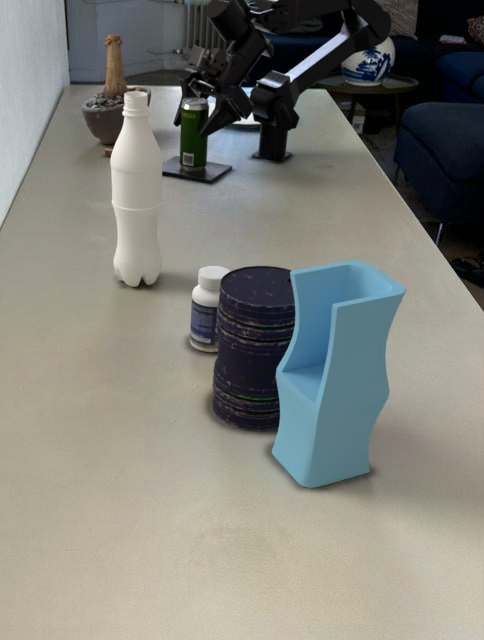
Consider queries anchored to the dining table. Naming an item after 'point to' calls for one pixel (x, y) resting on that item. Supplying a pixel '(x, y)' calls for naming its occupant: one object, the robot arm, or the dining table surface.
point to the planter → (110, 97)
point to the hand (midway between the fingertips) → (187, 131)
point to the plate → (243, 123)
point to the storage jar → (252, 345)
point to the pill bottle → (206, 309)
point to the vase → (334, 370)
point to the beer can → (193, 134)
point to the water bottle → (137, 194)
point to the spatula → (174, 170)
